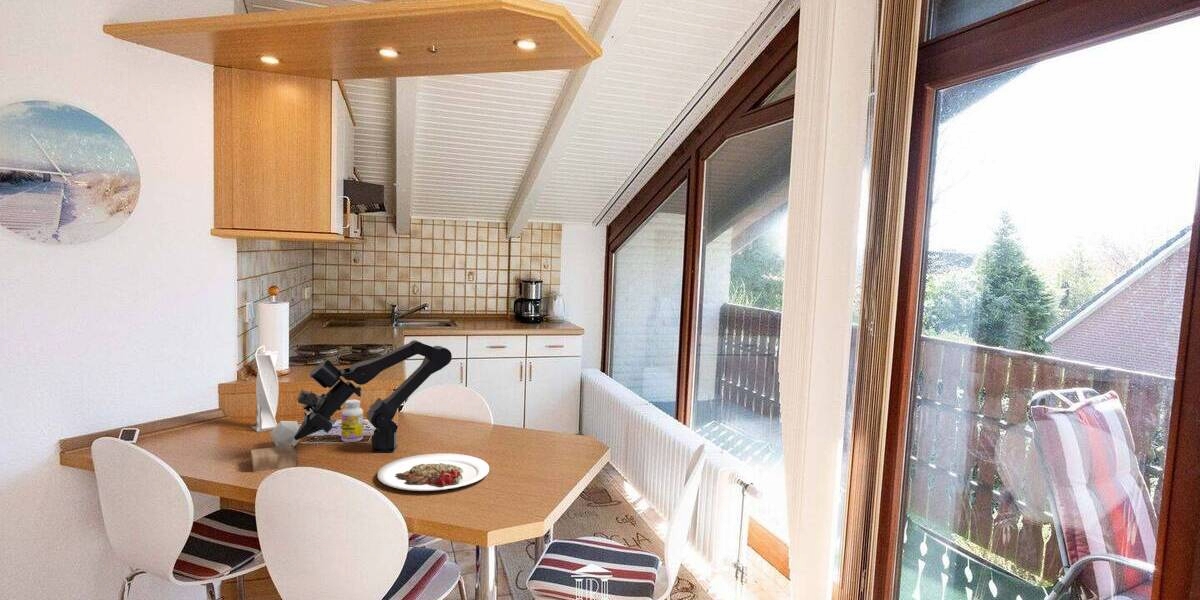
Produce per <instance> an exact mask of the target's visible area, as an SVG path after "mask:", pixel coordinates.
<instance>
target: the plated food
mask: <svg viewBox="0 0 1200 600" xmlns="http://www.w3.org/2000/svg"><path fill="white" fill-rule="evenodd" d="M489 471H490V466H489V463H487V462H486V461H485V460H483V459H480V458H478V457H475V456H473V455H467V454H461V453H446V452H444V453H437V452H436V453H425V454H416V455H412V456H406V457H403V458H398V459H396V460H393V461H391V462H388V463H387V464H385V465H383V466H382V467H380V468H379V470H378V471H377V479H378V480H379V482H381V483H382V484H384V485H386V486H388V487H391V488H395V489H399V490H406V491H419V492H420V491H421V492H429V491H430V492H431V491H432V492H433V491H444V490H448V489H451V490H452V489H457V488H460V487H464V486H469V485H471V484H475V483H476V482H479V481H480V480H483V479H484V478H485V477H486V476H487V475H488V474H489Z"/></svg>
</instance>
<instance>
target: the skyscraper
mask: <svg viewBox="0 0 1200 600" xmlns="http://www.w3.org/2000/svg"><path fill="white" fill-rule="evenodd" d="M260 349H262V351H261V353H258V351H259V350H260ZM279 353H280V352H279V351H276V350H275V351H273V352H272V350H266V346H265V345H261V346H260V347H258V348H257V349H256V351H255V354H254V357H255V362H256V365H257V374H256V380H255V395H256V396H255V397H256V420H255V423H256V425H252V426H251V429H253V430H254V431H255V432H256V433H260V432H261V433H262V432H266V431H268V432H269V431H272V430H273V429H274V428H275V427H276V426H277V424H278V423H277V420H276V414H277V410H278V403H279V377H278V373H277V370H276V366H277V361H278V358H279Z"/></svg>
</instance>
